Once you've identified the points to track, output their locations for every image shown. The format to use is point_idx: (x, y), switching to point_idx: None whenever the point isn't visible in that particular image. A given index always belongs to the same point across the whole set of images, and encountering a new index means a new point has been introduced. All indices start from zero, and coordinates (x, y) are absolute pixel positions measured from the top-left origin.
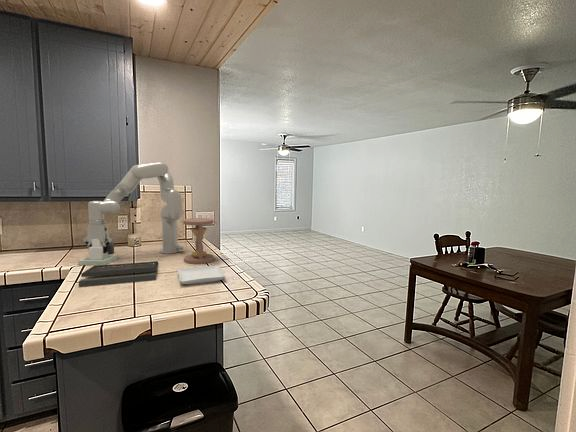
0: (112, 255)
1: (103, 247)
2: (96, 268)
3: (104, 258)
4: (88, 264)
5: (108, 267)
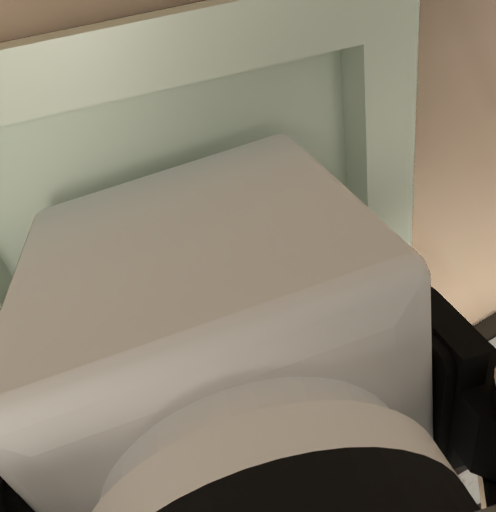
0: (337, 42)
1: (444, 449)
2: None
3: (193, 127)
4: None
5: None
